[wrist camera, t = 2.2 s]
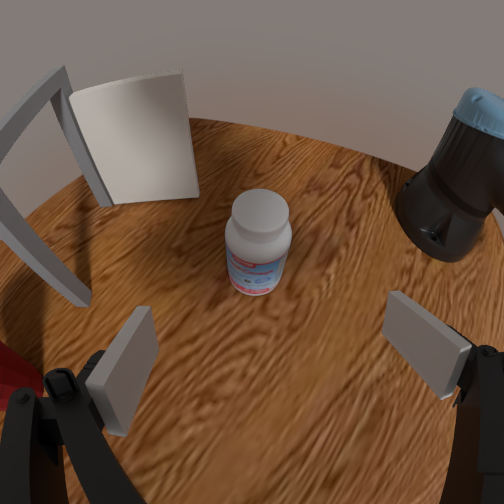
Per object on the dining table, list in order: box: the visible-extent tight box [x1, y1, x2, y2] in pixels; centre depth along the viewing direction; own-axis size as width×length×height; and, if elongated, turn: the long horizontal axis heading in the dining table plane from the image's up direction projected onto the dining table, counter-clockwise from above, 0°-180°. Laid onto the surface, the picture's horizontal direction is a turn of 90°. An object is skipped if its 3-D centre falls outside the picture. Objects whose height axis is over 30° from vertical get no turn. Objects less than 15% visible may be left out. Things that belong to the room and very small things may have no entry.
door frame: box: [0, 66, 113, 307], centre depth 24 cm, size 2×18×22 cm, turn 4°
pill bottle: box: [225, 189, 292, 296], centre depth 27 cm, size 6×6×11 cm
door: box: [69, 70, 200, 204], centre depth 30 cm, size 13×2×18 cm, turn 94°
